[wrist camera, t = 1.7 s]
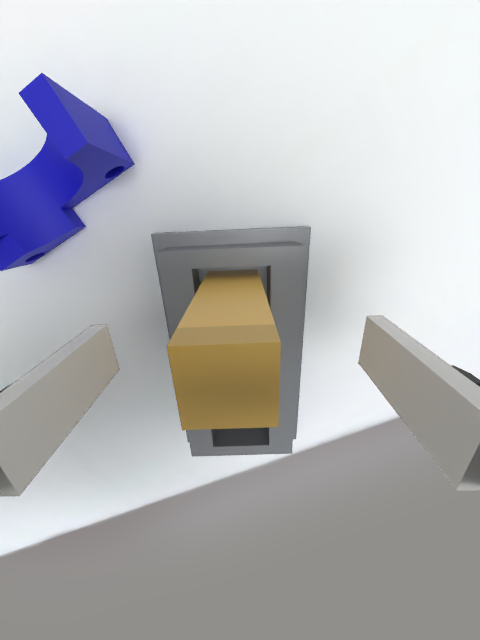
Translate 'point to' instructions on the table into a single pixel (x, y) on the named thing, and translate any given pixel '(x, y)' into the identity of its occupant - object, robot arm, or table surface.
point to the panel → (285, 304)
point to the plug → (227, 355)
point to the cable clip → (56, 174)
